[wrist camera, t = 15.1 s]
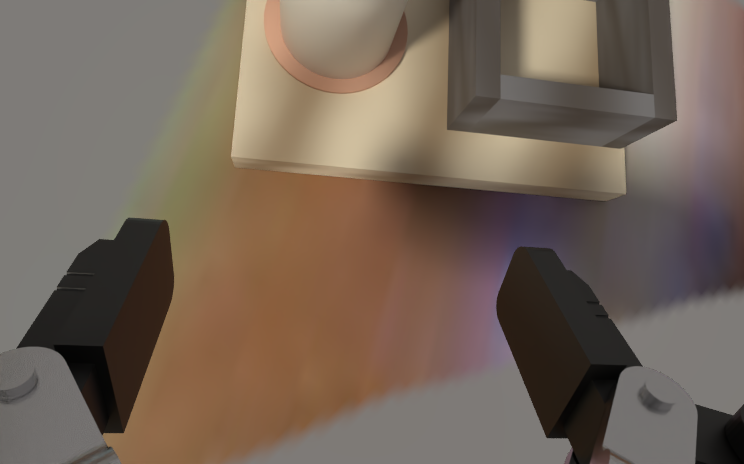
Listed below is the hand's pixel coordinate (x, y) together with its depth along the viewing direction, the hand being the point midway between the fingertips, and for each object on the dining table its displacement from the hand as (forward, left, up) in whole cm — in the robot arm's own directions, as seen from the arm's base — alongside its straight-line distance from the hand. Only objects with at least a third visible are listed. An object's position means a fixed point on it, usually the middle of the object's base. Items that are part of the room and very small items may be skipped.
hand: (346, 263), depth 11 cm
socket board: (+5, +12, -10) cm, 16 cm away
